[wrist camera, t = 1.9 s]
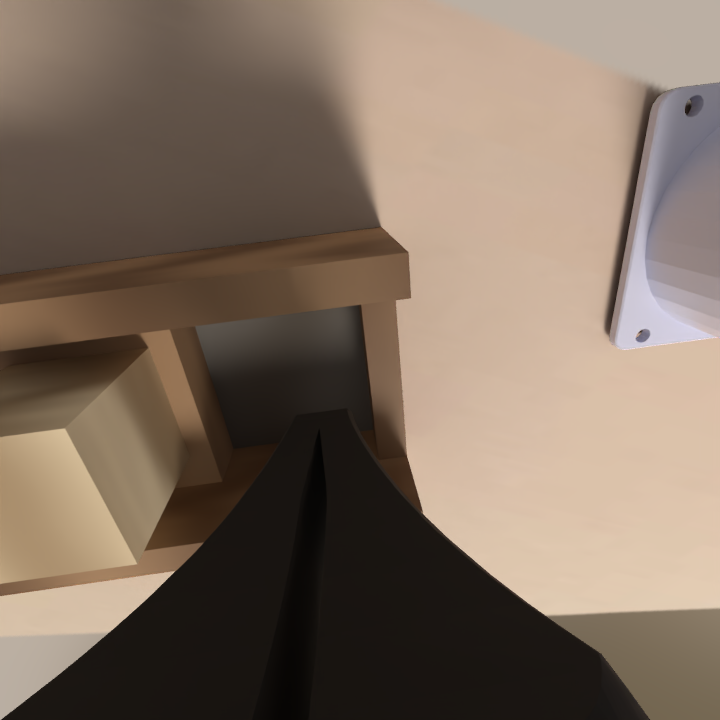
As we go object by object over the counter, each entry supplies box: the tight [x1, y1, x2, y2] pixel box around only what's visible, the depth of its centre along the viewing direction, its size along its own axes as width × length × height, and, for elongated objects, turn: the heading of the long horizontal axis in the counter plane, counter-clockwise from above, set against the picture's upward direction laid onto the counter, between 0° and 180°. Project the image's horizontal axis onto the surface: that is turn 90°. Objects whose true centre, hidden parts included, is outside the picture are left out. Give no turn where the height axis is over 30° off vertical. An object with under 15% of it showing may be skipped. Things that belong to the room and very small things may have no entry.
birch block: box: [0, 348, 190, 584], centre depth 10 cm, size 4×4×4 cm
